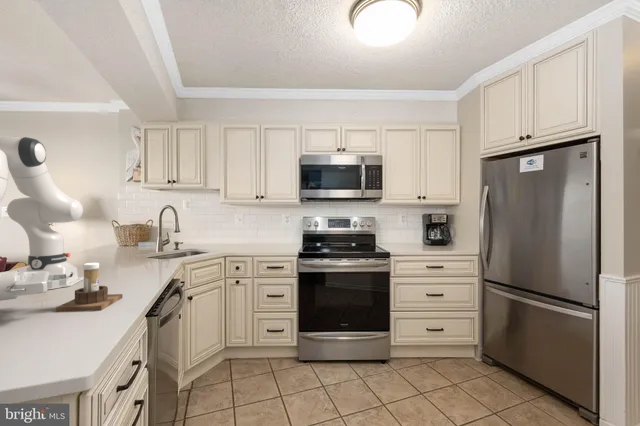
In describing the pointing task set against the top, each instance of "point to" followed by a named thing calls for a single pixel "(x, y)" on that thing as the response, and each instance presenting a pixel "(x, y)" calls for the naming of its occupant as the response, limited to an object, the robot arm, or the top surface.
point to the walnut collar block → (90, 300)
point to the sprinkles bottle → (91, 277)
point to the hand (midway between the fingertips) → (66, 279)
